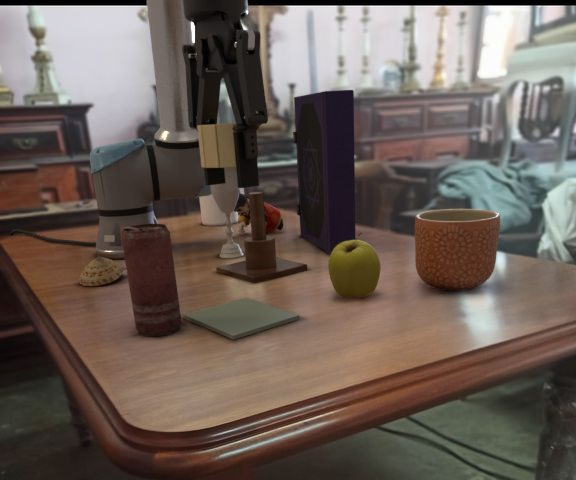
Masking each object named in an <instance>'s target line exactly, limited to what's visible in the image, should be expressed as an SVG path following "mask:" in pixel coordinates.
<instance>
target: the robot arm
mask: <svg viewBox="0 0 576 480" xmlns="http://www.w3.org/2000/svg"><path fill="white" fill-rule="evenodd" d="M248 5H249V4H248V0H146V8H147V16H148V25H149V26H148V27H149V34H150V43H151V52H152V62H153V71H154V79H155V80H154V81H155V88H156V89H155V90H156V97H157V107H158V108H157V109H158V115H159V124H160V126H159V128H158V130H157V131H155V133H154V144H146V141H144V139H143V138H135V139H130V140H124V141H119V142H114V143H110V144H105V145H101V146H96V147H94V148H93V149H92V150H91V151H90V152H89V165H90V174H91V175H92V180H93V188H94V192H95V199H96V206H97V211H98V219H99V222H98V228H97V234H96V235H97V236H96V240H95V241H83V240H73V239H72V240H71V239H62V238H61V239H60V238H53V237H52V238H51V237H48V236H44V235H42V236H40V235H41V234H39V235H37V234H38V233H36V232H33V231H27V230H23V229H18V228H15V229H12V230H11V231H10V233H9V236H13V235H15V233H18V234H19V233H20V234H23V235H27V236H33V237H35V238H38V239H40V240H43V241H46V242H52V243H58V244H68V245H69V244H70V245H79V246H93V247H95V251H96V257H103V258H108V259H111V260H113V259H115V260H119V259H125V257H124V251H123V247H122V241H121V230H122V229H123V228H124V227H130V226H135V225H142V224H159V221H158V220H157V218H156V216H155V211H154V205H153V202H160V201H168V200H169V201H170V200H180V199H197V198H199V197H202V196H208V195H211V194H212V193H211V187H210V185H216V184H224V183H226V181H225V171H224V168H204V167H202V166H201V157H200V147H199V138H198V129H197V126H198V125H212V124H218V120H219V119H218V118H219V108H220V107H219V106H220V98H221V97H220V96H221V85H222V80H223V82H224V85H225V89H226V92H227V96H228V99H229V103H230V106H231V111H232V113H233V117H234V121H235V123H236V125H235V126H234V127H233V128H232V129H233V131H235V132H233V135H234V147H235V158H236V170H237V182H238V188H244V189H245V188H253V187H259V186H260V178H259V166H258V164H259V163H258V164H257V158H258V157H259V147H258V134H257V133H258V130H259V128H260V127H261V126H263V125H266V124H268V121H269V115H268V108H267V107H268V106H267V101H266V94H265V93H266V91H265V83H264V77H263V71H262V61H261V55H260V53H261V52H260V51H261V33H260V31H259V30H257V29H255V30H254V29H244V26H243V24H242V20H244V19H246V18H247V16H248V14H249V8H248V7H249V6H248ZM236 131H241V132H236Z"/></svg>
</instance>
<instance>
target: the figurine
mask: <svg viewBox="0 0 576 480" xmlns="http://www.w3.org/2000/svg"><path fill="white" fill-rule="evenodd" d="M264 210H265V224H266V233H273V232H276V231H277V230H278V231H282V230H283V229H284V220H283V218H282V212H281V211H280V210H279V209H278V208H276V207H275V206H273V205H271V204H269V203H267V202H265V201H264ZM234 211H235V212H238V222H237V223H238V233H239V235H241V236H243V235H244V234H245V232H246V230H245V228H247V227H248V226H249V225H250V224H251V219H250V206H249V196H246V195H245V193H244V194H241V193H239V197H238V201H237V204H236V207H235V209H234Z"/></svg>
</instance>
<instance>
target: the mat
mask: <svg viewBox="0 0 576 480" xmlns="http://www.w3.org/2000/svg"><path fill="white" fill-rule="evenodd" d="M182 318H183V319H184V320H187V321H189V322H192V323H194V324H196V325H199V326H200V327H203V328H205V329H208V330H210V331H212V332H214V333H217V334H218V335H222V336H224V337H226V338H228V339H231V340H233V341H234V340H238V339H241V338H244V337H246V336H251V335H253V334H257V333H259V332H260V333H261V332H263V331H267V330H268V329H272V328H275V327H276V328H277V327H279V326H282V325H285V324H288V323H292V322H295V321H298V320H300V314H297V313H295V312H292V311H288V310H285V309H282V308H278V307H276V306H273V305H271V304H266V303H263V302H260V301H257V300H255V299H252V298H249V297H242V298H238V299H234V300H231V301H226V302H223V303H220V304H216V305H212V306H207V307H204V308H201V309H200V308H199V309H197V310H193V311H191V312H186V313H183V314H182Z"/></svg>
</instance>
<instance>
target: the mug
mask: <svg viewBox="0 0 576 480" xmlns="http://www.w3.org/2000/svg"><path fill="white" fill-rule="evenodd" d="M239 194H244V195H245V188H240V193H239ZM198 198H199V199H198V200H199V208H200V215H201V217H200V218H201V223H202V225H203V226H208V227H214V226H216V227H217V226H226V224H225V222H226V215H225V213H223V212H221V211H220V209H219V207H218V205H217V204H216V202H215V200H214V198H213V195H212V194H211V195H208V196H202V197H198ZM230 218H231V221H232V224H231V225H233V224H236V223H238V221H239V215H238V212H235V211H233V212H231V213H230Z"/></svg>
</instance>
